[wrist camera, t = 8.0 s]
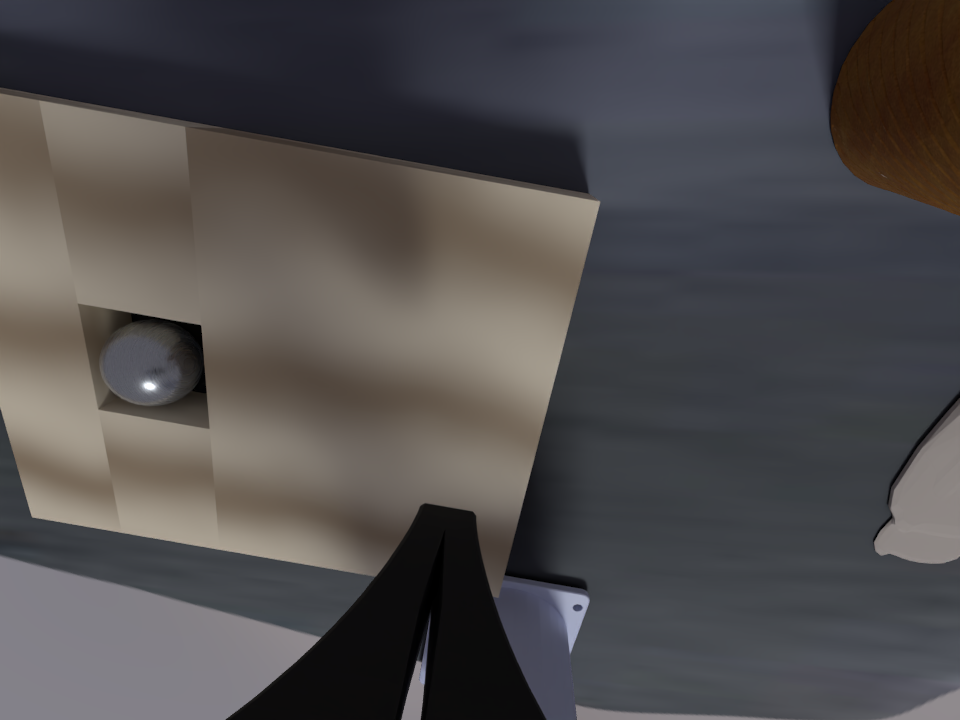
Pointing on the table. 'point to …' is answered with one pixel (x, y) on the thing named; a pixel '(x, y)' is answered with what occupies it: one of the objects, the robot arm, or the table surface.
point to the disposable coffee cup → (904, 103)
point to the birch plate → (276, 333)
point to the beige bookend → (927, 499)
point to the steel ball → (151, 362)
